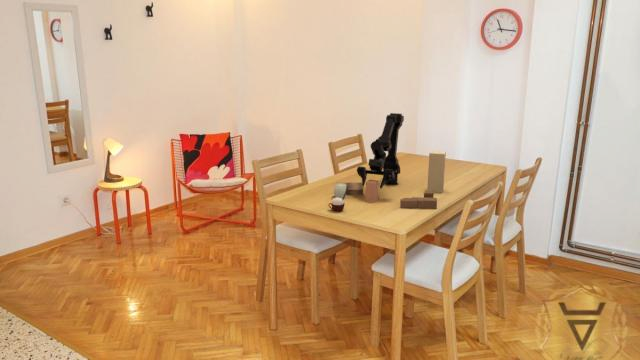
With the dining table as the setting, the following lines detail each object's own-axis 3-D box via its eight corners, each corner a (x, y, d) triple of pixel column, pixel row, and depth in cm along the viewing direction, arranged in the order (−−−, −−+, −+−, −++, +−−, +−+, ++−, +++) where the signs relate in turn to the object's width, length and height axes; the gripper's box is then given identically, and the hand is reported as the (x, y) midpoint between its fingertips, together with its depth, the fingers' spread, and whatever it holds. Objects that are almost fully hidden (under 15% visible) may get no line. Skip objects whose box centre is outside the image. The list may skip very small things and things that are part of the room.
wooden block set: (439, 198, 249) (400, 198, 250) (438, 210, 250) (400, 209, 252) (434, 188, 265) (398, 188, 266) (434, 199, 266) (398, 198, 268)
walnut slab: (362, 187, 287) (362, 182, 286) (363, 195, 273) (363, 189, 272) (336, 187, 287) (336, 182, 286) (336, 195, 274) (336, 189, 273)
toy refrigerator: (444, 189, 282) (446, 151, 276) (442, 193, 275) (444, 154, 269) (429, 188, 284) (430, 150, 279) (427, 192, 277) (428, 153, 272)
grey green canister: (346, 195, 272) (346, 182, 271) (346, 199, 267) (346, 186, 265) (334, 195, 273) (334, 182, 271) (334, 199, 267) (334, 186, 265)
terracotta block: (368, 198, 267) (369, 179, 265) (378, 199, 266) (378, 180, 263) (365, 201, 263) (366, 182, 260) (375, 202, 261) (375, 183, 259)
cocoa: (327, 211, 249) (325, 187, 246) (333, 207, 254) (332, 183, 251) (344, 213, 244) (343, 189, 241) (351, 209, 250) (349, 185, 246)
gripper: (358, 150, 266) (350, 177, 259) (393, 153, 258) (386, 180, 251) (362, 162, 275) (355, 188, 268) (397, 165, 267) (390, 192, 260)
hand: (371, 187), depth 262 cm, fingers open, 9 cm apart
